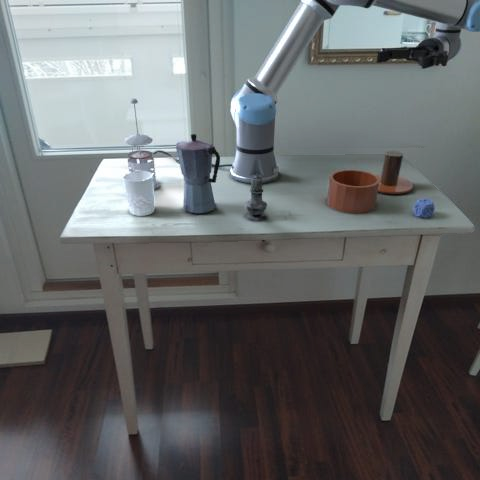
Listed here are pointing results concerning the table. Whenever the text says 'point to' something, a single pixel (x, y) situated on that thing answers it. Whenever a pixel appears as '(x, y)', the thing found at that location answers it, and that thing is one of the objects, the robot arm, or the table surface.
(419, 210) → the decorative dice
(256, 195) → the salt shaker
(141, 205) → the white cup
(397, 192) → the lid
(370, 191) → the pot
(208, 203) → the moka pot
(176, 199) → the table surface
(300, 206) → the table surface
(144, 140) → the french press
